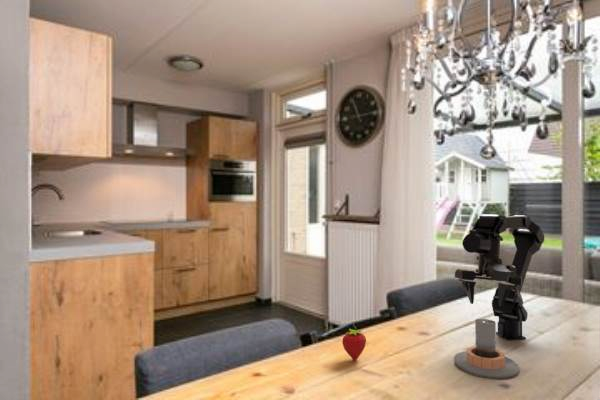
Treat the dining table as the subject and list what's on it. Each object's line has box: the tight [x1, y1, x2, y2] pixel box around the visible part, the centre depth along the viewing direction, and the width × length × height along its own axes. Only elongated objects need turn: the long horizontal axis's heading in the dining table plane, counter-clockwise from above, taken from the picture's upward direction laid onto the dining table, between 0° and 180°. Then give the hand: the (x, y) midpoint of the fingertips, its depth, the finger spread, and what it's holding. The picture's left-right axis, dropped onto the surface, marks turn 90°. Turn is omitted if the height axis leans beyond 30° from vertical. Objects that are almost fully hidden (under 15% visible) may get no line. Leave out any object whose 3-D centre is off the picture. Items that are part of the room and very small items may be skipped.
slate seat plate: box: [453, 345, 520, 380], centre depth 106 cm, size 16×16×4 cm
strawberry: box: [342, 325, 367, 361], centre depth 111 cm, size 6×8×10 cm
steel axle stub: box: [474, 318, 497, 358], centre depth 106 cm, size 5×5×11 cm
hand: (486, 305), depth 120 cm, fingers open, 9 cm apart
